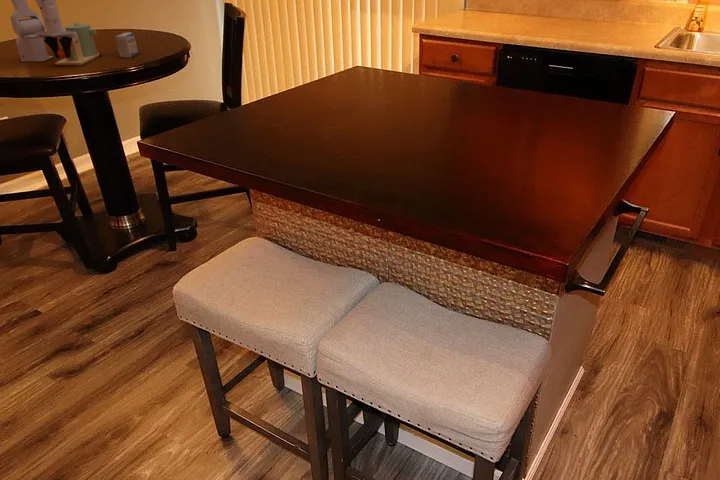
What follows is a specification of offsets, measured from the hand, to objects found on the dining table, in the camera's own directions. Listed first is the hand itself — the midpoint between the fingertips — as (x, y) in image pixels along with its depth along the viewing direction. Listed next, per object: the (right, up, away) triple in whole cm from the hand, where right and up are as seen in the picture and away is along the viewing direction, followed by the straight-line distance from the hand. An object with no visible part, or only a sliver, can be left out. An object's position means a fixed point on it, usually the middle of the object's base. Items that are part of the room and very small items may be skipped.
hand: (63, 57), depth 219 cm
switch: (0, +3, +3) cm, 4 cm away
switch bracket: (0, +1, +8) cm, 8 cm away
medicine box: (+17, +7, +17) cm, 25 cm away
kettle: (+1, +6, +16) cm, 17 cm away
